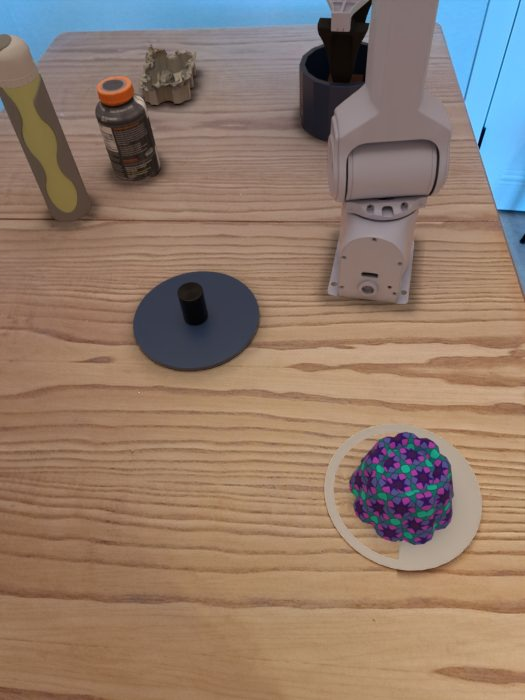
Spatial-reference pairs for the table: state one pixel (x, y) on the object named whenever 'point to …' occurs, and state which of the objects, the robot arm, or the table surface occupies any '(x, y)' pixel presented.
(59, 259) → the table surface
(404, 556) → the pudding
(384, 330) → the table surface
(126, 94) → the pill bottle
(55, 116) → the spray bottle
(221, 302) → the lid
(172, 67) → the egg carton
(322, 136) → the pot
